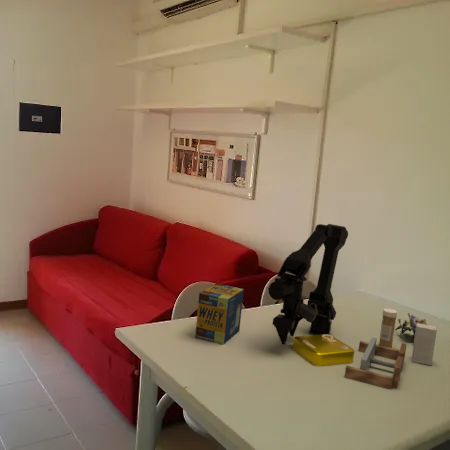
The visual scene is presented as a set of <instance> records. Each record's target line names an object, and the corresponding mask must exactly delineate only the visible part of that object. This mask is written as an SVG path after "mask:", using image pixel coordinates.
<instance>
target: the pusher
mask: <svg viewBox="0 0 450 450" xmlns="http://www.w3.org/2000/svg"><path fill="white" fill-rule="evenodd" d="M377 339H378V338H376V337H373V336H372V337H371V338H370V341H369V342H368V343H369V345H368V347H367V349H366V351H365V352H363V354H362V357H361V360H360V366H359V369H363V370H367V371H369V367H370V366H371V364H373V365H374V364H375V365H378V366H383V367H386V368H391V369H394V367H395V364H396V363H393V362H389V361H383V360H380V359H376V358H374V356H375V355H374V354H375V348H376V345H377Z"/></svg>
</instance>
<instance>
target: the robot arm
mask: <svg viewBox="0 0 450 450" xmlns="http://www.w3.org/2000/svg"><path fill="white" fill-rule="evenodd" d="M348 236H349V231H348V230H347V228H346V227H345V226H342V225H337V224H331V223H328V224H322V223H320V224H319V223H318V224H316V226H315V229H314V231H313V232H312V233H311V234H310V236H309V237H308V238H307V239H306V241H304V243H303V244H302V246H301V247H300V248H299V249H297V250H295V251H292V252H291V253H290V254H289V255H288V256H287V257H286V258H285V259H284V261H283V263H282V264H281V267H280V269H279V270H278V273H277V276H276V277H275V278H274V281H272V282H271V283H270V284H269V286H268V290H267V291H268V295H269V296H270V298H272V300H275V301H279V300H281V301H282V308H281V309H280V312H279V314H277V315H276V316H275V317H273V318H272V325H273V326H274V328H275V330H276V332H277V335H278V338H279V341H280V343H281V345H282V346H283V345H284V346H285V345H286V344H287V341H288V336H290V337H292V338H294V337H295V336H294V335H295V333H296V331H297V328H298V327H299V326H298V325H299V323H300V321H302V320H303V319H304V320H305V321H307V322H308V323H310V329H309V330H308V333H309V334H312V335H320V334H330V333H331V332H332V324H333V322H332V321H334V319H335V318H336V316H337V315H336V314H337V311H336V309H335V307H334V305H333V304H334V297H333V294H332V291H331V289H332V285H333V279H334V276H335V275H334V274H335V270H336V265H337V261H338V256H339V255H338V254H339V253H340V250H341V249H342V248H343V247H344V246H345V245H346V241H347V239H348ZM322 246H324V251H323V256H322V259H321V260H322V261H321V264H320V265H321V266H320V271H319V274H318V280H317V284H316V288H315V289H314V290H313V291H310V292H309V297H308V300H307V304H306V303H304V302H305V301H304V300H305V299H304V298H303V297H302V296H303V290H304V289H303V288H304V287H303V286H304V282H305V281H307V279H308V278H307V277H306V275H307V273H308V272H309V271H310V268H311V267H312V263H311V262H312V259H313V258H314V256H315V255H316V254H317V253H318V251H319V250H320V248H321V247H322Z"/></svg>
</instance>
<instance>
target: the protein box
mask: <svg viewBox="0 0 450 450" xmlns="http://www.w3.org/2000/svg"><path fill="white" fill-rule="evenodd" d="M244 290H245V289H244V288H239V287H236V286H235V287H234V286H230V285H227V284H226V285H225V284H220V283H215V284H214V285H212V286H210V287H208V288H206V289H204V290H203V291H200V292H199V293H198V302H197V303H198V304H197V313H196V314H197V316H196V324H195V326H196V328H195V339H199V340H203V341H207V342H211V343H216V344H220V345H225V344H226V343H227V342H229V341H230V340H231V339H232V338H234V336H235V335H237V334H238V333H240V327H241V326H240V325H241V319H242V309H243V297H244V292H245V291H244Z"/></svg>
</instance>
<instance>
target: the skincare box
mask: <svg viewBox="0 0 450 450" xmlns="http://www.w3.org/2000/svg"><path fill="white" fill-rule="evenodd" d="M436 338H437V327H436V326H435V325H431V324H427V325H425V324H419V323H417V324H416V331H415V337H414V339H413V346H412V353H411V362H413V363H416V364H422V365H428V366H432V364H433V357H434V352H435V345H436V344H435V343H436Z"/></svg>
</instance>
